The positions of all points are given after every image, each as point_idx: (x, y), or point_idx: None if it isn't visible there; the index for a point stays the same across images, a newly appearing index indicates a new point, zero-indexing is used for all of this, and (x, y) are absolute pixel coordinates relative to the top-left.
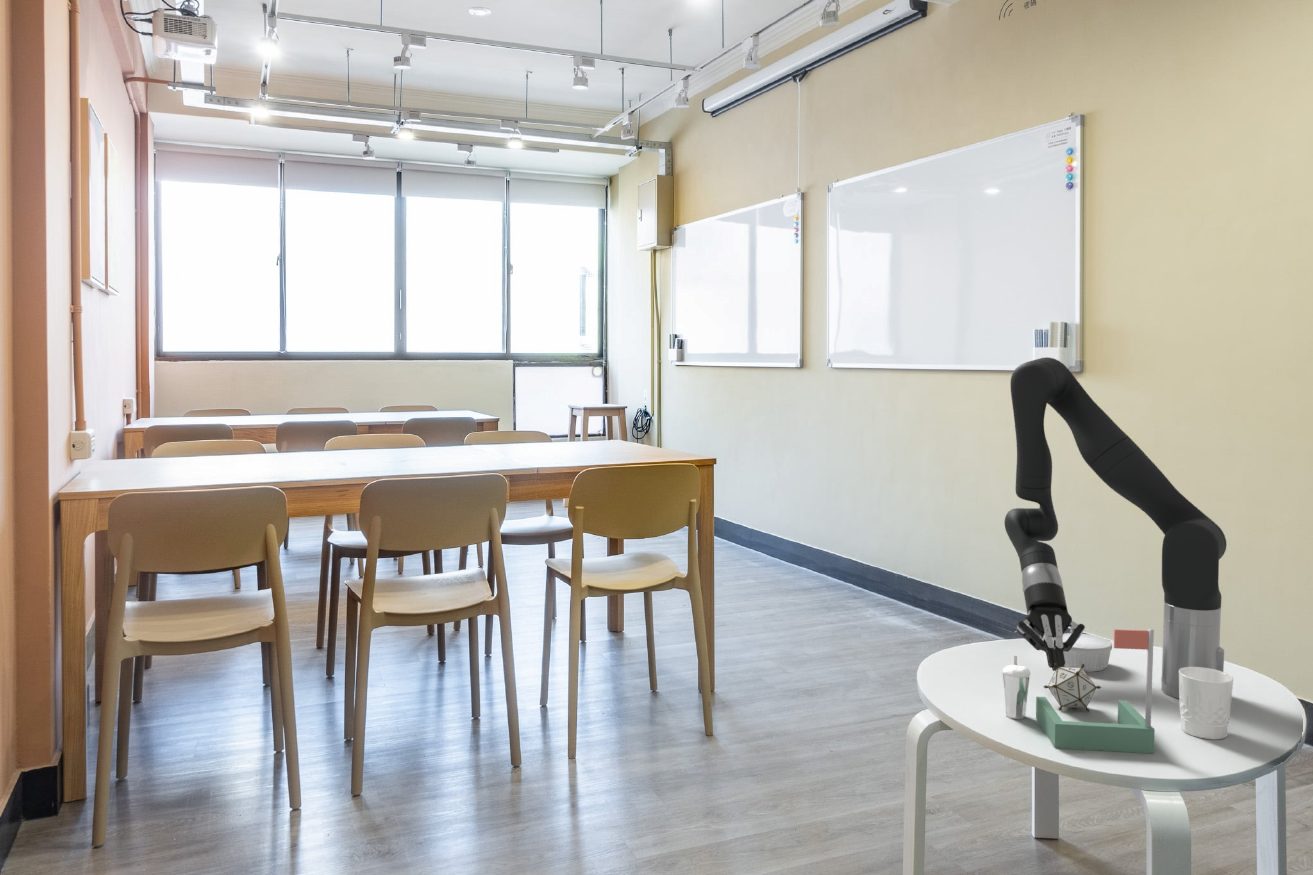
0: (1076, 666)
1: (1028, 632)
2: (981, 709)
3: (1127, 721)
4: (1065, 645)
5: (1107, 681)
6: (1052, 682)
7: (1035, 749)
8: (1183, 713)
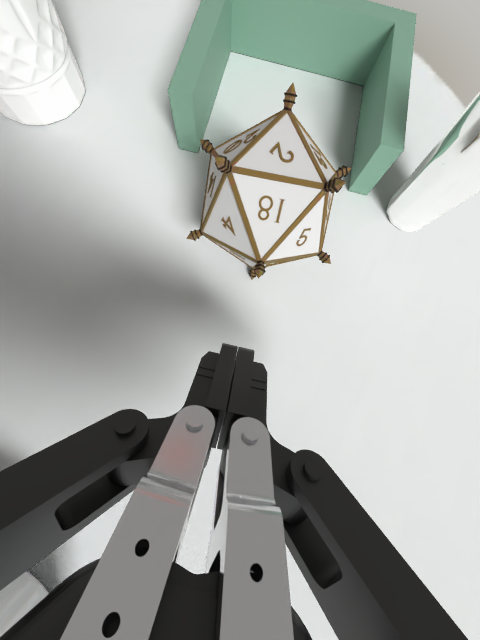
0: (34, 587)
1: (412, 585)
2: (470, 257)
3: (211, 75)
4: (151, 432)
5: (13, 440)
6: (327, 214)
7: (416, 78)
8: (62, 40)
